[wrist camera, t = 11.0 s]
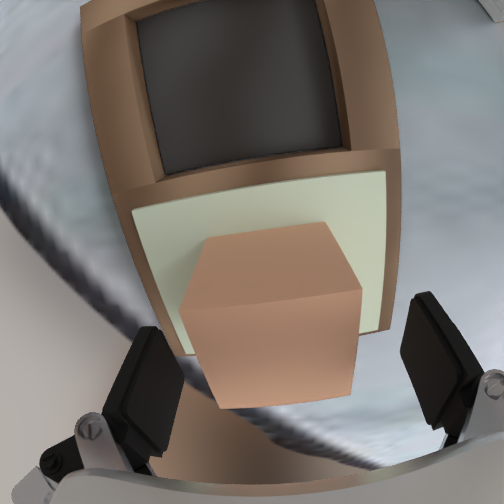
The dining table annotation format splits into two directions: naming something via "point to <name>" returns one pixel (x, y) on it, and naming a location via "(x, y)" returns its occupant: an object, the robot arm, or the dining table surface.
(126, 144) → the hole board
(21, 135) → the dining table surface
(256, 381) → the terracotta cube
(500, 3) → the small box
